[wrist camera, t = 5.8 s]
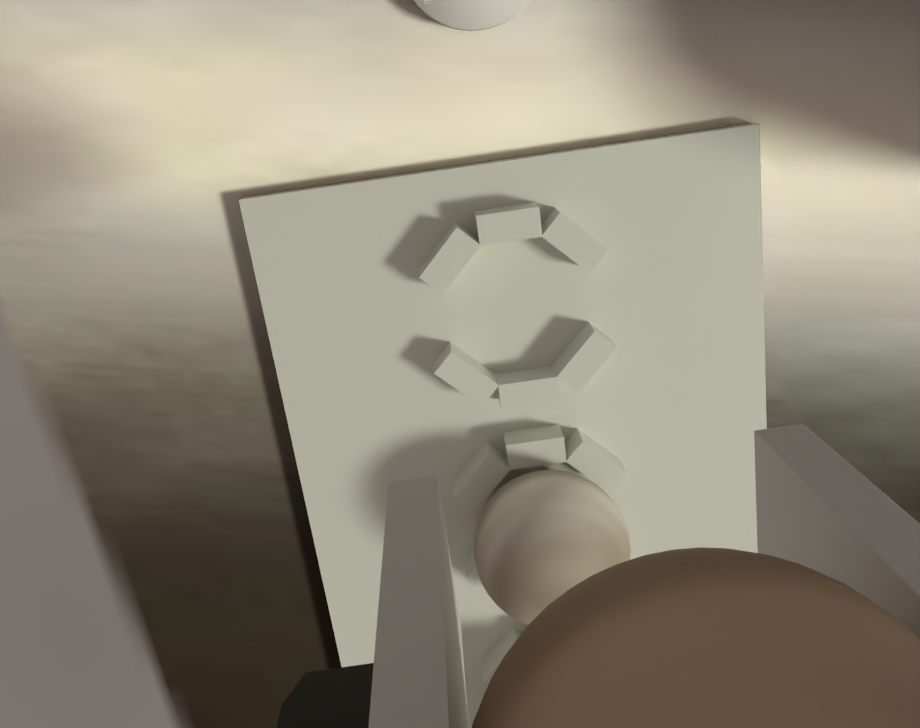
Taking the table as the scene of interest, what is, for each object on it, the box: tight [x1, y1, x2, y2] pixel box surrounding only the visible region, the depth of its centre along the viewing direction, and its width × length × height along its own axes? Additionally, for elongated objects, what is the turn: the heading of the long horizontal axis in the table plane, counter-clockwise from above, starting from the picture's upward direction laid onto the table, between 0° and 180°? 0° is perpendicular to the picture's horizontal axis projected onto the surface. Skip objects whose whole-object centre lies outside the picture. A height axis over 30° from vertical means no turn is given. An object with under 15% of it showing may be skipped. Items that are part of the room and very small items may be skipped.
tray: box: [239, 123, 767, 728], centre depth 29 cm, size 24×16×2 cm, turn 8°
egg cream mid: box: [474, 470, 631, 625], centre depth 27 cm, size 5×5×5 cm
